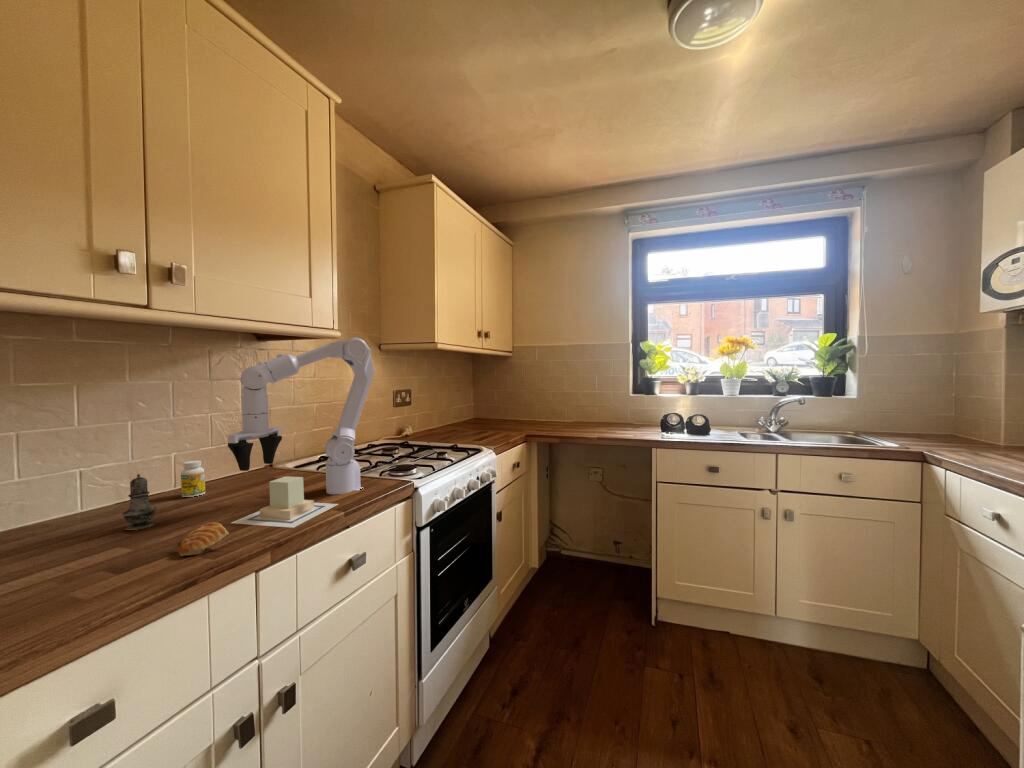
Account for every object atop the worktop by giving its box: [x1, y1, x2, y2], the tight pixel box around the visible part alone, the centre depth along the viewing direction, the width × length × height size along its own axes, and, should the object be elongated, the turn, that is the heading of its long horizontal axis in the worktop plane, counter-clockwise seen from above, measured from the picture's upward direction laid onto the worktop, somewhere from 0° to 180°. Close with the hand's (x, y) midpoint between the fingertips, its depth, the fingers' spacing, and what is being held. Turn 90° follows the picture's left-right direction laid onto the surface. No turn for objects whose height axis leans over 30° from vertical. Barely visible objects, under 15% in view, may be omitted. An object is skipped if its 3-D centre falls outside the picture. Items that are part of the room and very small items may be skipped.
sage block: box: [268, 475, 305, 509], centre depth 98 cm, size 5×5×6 cm
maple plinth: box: [259, 499, 315, 520], centre depth 98 cm, size 8×8×2 cm
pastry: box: [178, 521, 230, 557], centre depth 81 cm, size 9×7×4 cm
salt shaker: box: [121, 473, 158, 530], centre depth 93 cm, size 6×6×12 cm
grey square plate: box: [230, 502, 339, 529], centre depth 98 cm, size 16×16×1 cm
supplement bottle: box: [180, 460, 206, 498], centre depth 117 cm, size 5×5×10 cm
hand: (256, 466), depth 105 cm, fingers open, 7 cm apart
